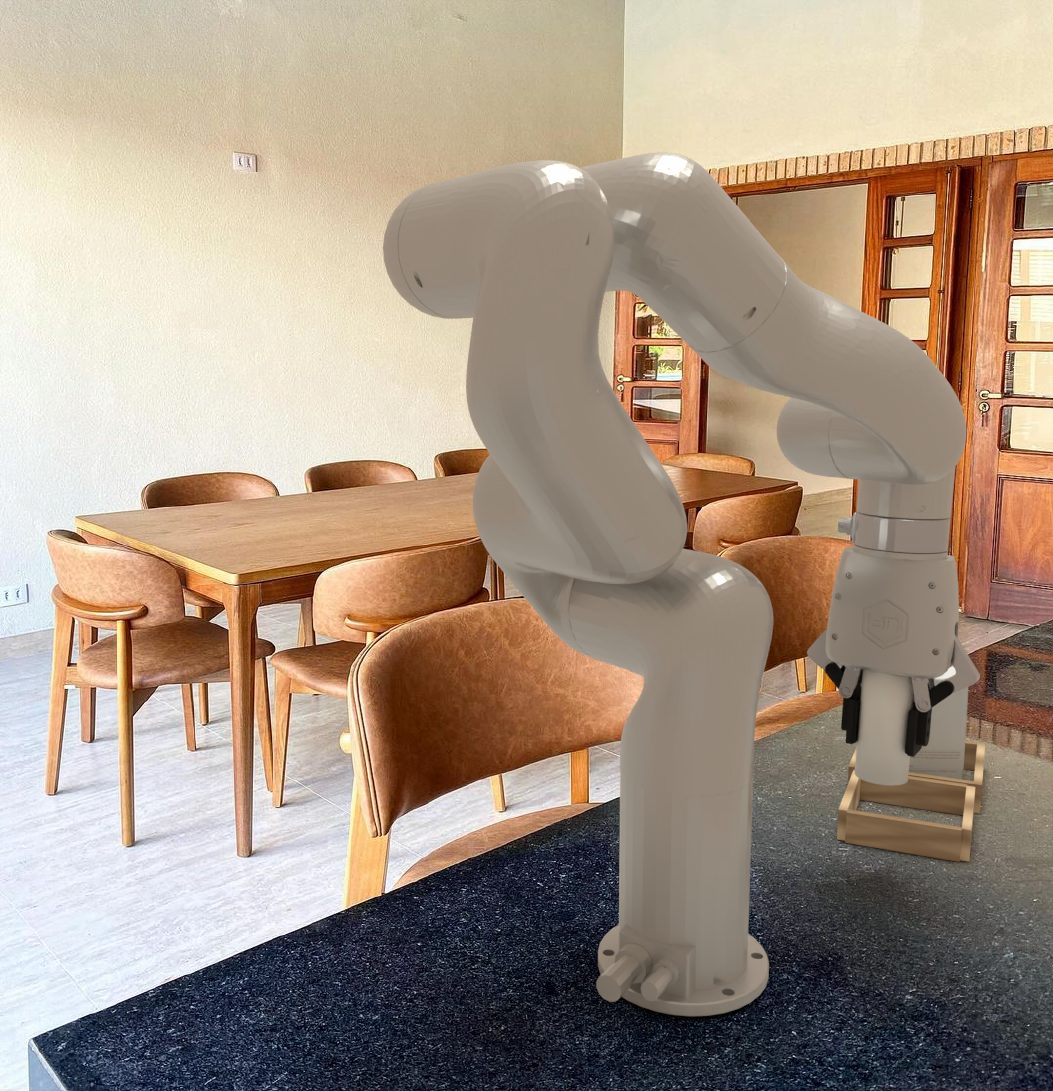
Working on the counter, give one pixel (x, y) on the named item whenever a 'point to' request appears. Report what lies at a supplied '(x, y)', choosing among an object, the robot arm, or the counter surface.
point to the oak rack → (915, 794)
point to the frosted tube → (883, 728)
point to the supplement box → (945, 736)
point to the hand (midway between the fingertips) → (883, 743)
